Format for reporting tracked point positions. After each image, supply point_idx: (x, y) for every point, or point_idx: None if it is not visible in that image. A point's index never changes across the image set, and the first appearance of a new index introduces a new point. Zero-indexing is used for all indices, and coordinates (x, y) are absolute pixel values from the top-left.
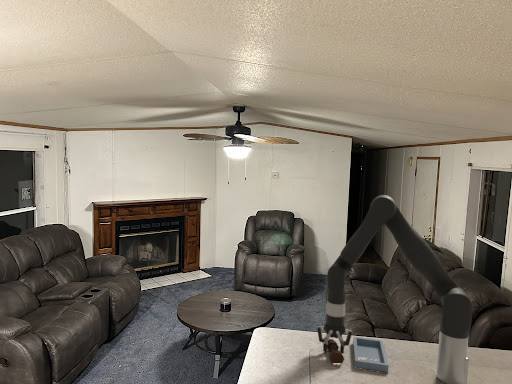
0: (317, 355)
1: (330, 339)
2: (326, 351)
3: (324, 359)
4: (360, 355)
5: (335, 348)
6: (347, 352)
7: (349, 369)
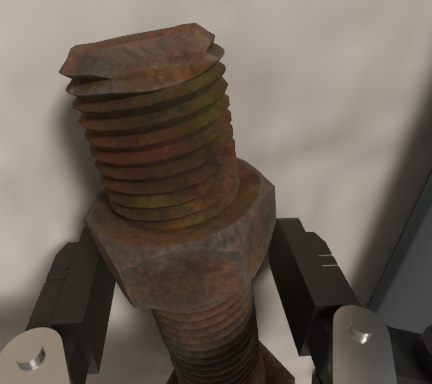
0: (33, 286)
1: (121, 110)
2: (114, 285)
3: (118, 320)
4: None
5: (224, 369)
6: (373, 138)
7: (307, 362)
